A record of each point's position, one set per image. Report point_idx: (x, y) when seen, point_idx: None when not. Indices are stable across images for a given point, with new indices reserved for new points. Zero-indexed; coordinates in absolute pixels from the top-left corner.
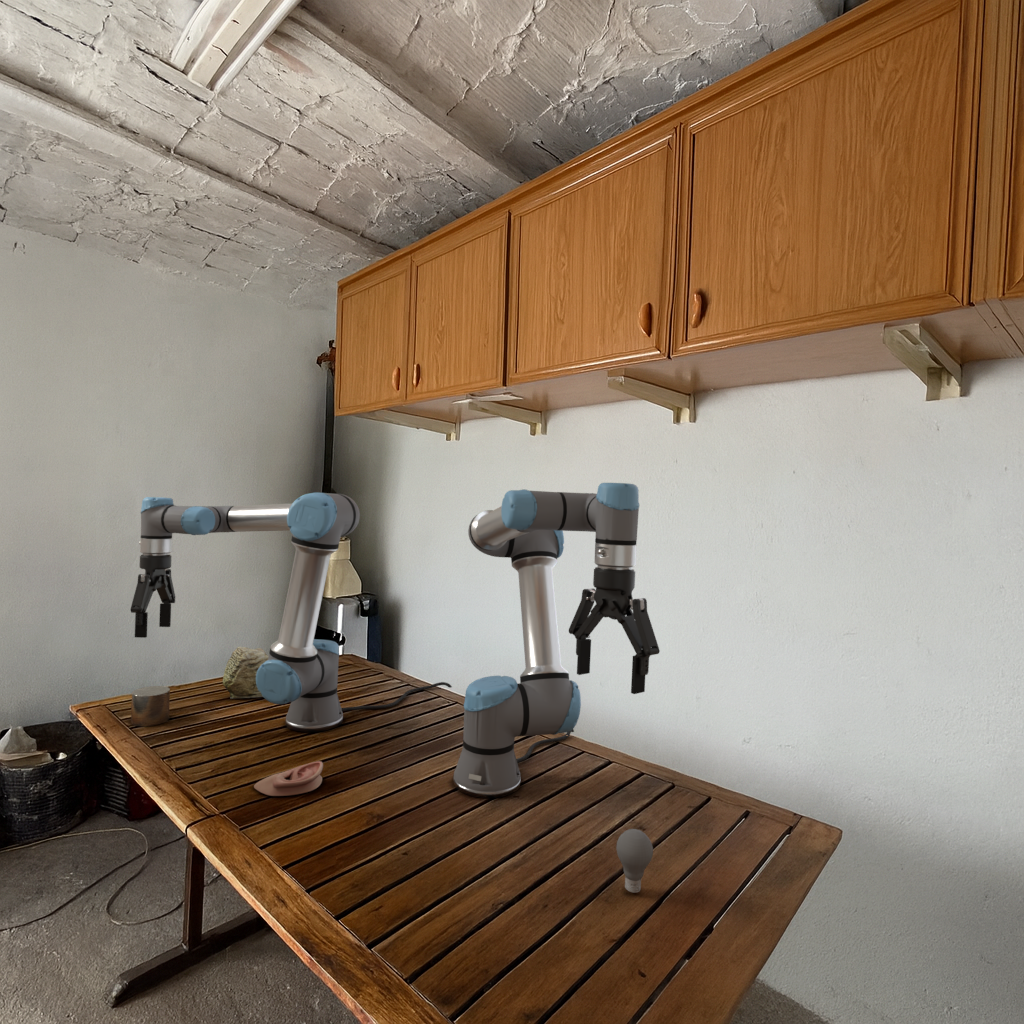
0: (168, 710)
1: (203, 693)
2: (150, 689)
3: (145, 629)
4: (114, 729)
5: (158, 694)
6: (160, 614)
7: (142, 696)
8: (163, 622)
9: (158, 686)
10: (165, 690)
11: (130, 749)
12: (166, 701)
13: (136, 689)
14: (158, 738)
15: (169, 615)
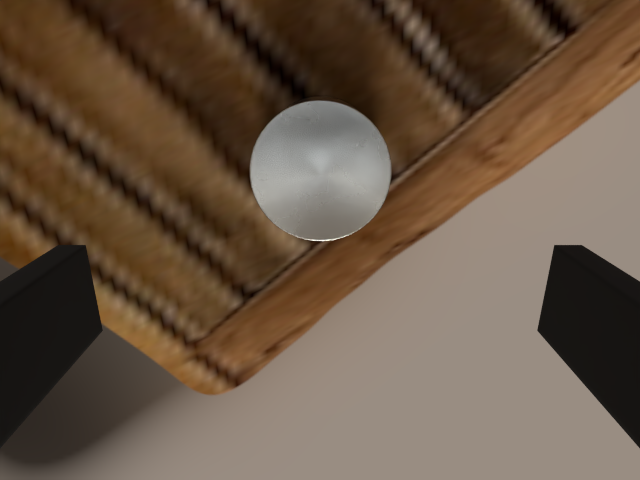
0: (313, 97)
1: (6, 94)
2: (302, 185)
3: (636, 280)
4: (399, 222)
5: (369, 121)
6: (24, 408)
7: (390, 176)
8: (72, 319)
9: (257, 173)
10: (312, 117)
11: (574, 94)
12: (332, 99)
13: (305, 238)
14: (487, 48)
15: (3, 304)
